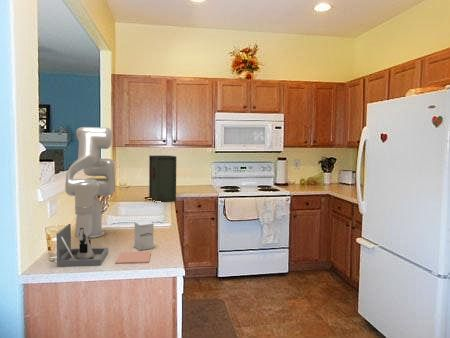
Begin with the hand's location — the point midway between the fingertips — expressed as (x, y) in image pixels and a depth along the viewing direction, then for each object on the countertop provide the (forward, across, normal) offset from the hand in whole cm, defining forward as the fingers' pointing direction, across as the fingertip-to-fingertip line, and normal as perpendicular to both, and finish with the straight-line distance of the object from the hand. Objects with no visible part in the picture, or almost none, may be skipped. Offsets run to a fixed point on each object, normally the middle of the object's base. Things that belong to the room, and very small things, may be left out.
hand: (85, 250), depth 151 cm
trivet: (+4, +1, +21) cm, 21 cm away
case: (+4, +1, 0) cm, 4 cm away
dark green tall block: (+8, -152, +28) cm, 155 cm away
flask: (+3, 0, 0) cm, 3 cm away
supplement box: (+4, -14, +24) cm, 28 cm away
